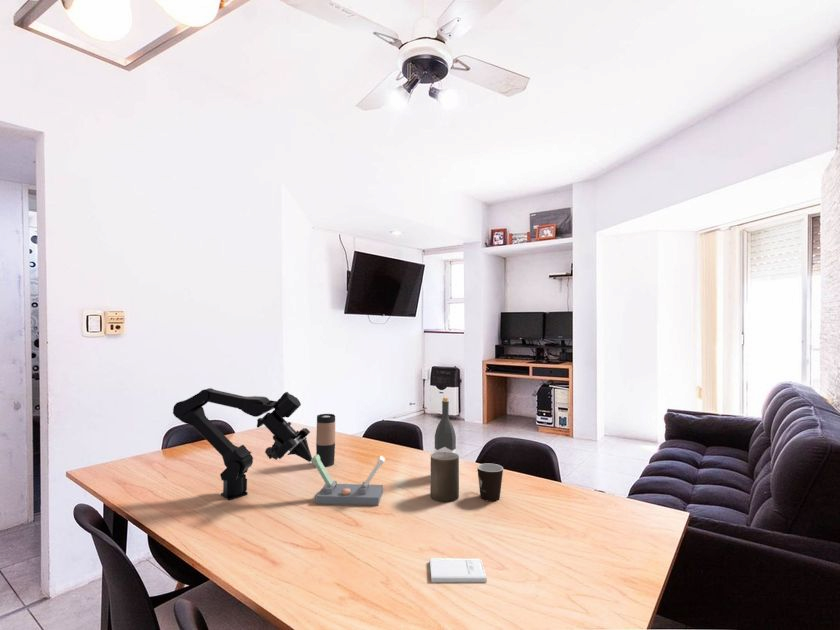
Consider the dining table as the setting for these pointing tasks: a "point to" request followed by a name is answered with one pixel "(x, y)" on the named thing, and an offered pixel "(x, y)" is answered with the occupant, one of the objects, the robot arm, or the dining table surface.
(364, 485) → the ivory lever
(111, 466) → the dining table surface
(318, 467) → the green lever
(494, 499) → the coffee mug
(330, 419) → the travel mug
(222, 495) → the robot arm
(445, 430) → the wine bottle
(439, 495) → the pillar candle
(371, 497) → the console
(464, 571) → the external hard drive
